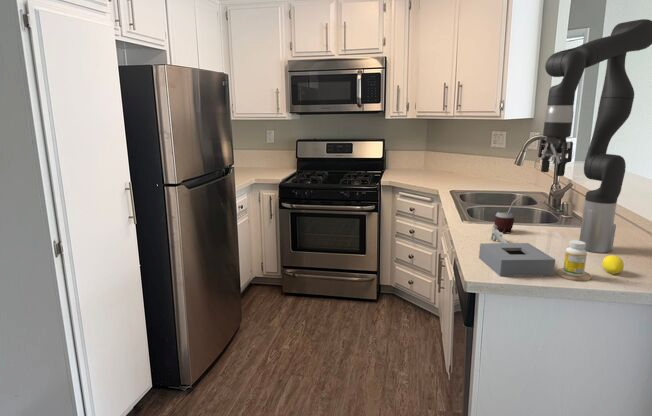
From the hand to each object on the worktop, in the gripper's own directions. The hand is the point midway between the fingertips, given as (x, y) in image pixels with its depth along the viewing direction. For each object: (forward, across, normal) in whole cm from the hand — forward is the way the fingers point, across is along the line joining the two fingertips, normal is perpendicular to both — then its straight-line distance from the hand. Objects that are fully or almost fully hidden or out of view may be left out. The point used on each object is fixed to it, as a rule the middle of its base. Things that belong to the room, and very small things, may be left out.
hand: (551, 173), depth 134 cm
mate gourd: (+28, +32, -2) cm, 43 cm away
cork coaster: (+28, -14, -2) cm, 31 cm away
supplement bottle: (+28, -14, -2) cm, 31 cm away
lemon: (+28, -12, -15) cm, 34 cm away
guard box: (+28, -6, +12) cm, 31 cm away
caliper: (+29, +13, +7) cm, 32 cm away
